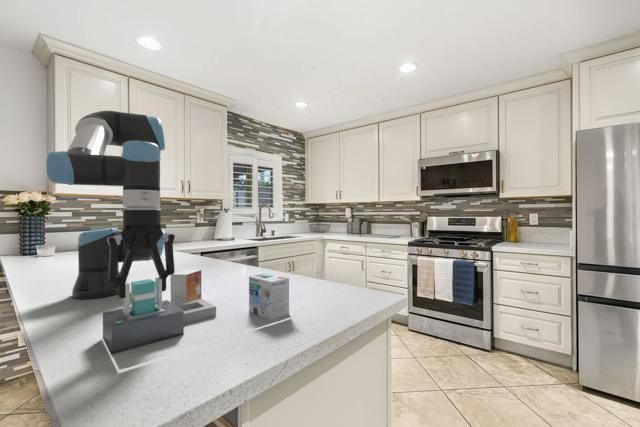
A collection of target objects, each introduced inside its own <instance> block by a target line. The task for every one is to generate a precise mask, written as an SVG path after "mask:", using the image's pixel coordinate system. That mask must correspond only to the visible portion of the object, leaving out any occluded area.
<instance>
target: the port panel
mask: <svg viewBox="0 0 640 427" xmlns="http://www.w3.org/2000/svg"><path fill="white" fill-rule="evenodd" d="M184 329H185V324H184V311H183V310H181V309H180V308H178V307H177V306H175V305H174V304H173V303H171V300H168V299H166V300H162V306H161V307H158V306H157V305H156V304H155V312H151V313H146V314H141V315H137V316H132V309H131V306H130V313H125V311H124V308H120V309H114V310H110V311H104V312H102V339H103V341H104V344H105V346H106V347H107V349H108V351H109V354H110V355H111V357H113V356H114V354H117V353H118V354H119V353H122V352H125V351H128V350H132V349H137V348H139V347H143V346H144V347H145V346H147V345H150V344H156V343H158V342H159V343H160V342H161V341H166V340H169V339H173V338H176V337H180V336H184V334H185V332H184V331H185V330H184Z"/></svg>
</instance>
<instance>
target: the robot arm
mask: <svg viewBox="0 0 640 427" xmlns="http://www.w3.org/2000/svg"><path fill="white" fill-rule="evenodd" d="M74 131H75V136H74V137H73V139H72V141H71V143H70V145H69V147H68V148H67V150H66V151H65V150H64V151H63V150H62V151H51V152H49V153H48V154H47V156H46V168H45V169H46V174H47V177H48V180H49V181H50V182H51V183H53V184H58V185H68V186H73V185H74V186H75V185H77V186H108V187H122V207H123V208H124V209H125V210H123V211H122V222H123V223H122V230H119V228H118V227H117V226H115V227H108V228H100V229H93V230H87V231H82V232H81V233H79V235H78V239H77V240H78V243H77V252H78V253H77V254H78V273H77V277H76V280H75V283H74V285H73V288H72V293H71V294H72V296H71V297H72V298H74V299H78V300H83V299H84V300H88V299H89V300H91V299H99V298H106V297H110V296H115V295H117V296H118V297H119V299H123V309H124V311H125V313H130V307H131V282H128V281H127V280H128V276H129V273H130V270H131V268H132V265H133V263H134V262H143V261H145V262H148V261H153V264H154V266H155V269H156V270H155V271H156V272H157V275H158V276H156V277H154V282H155V304H156V305H157V306H158V307H161V306H162V301H163V292H166V290H167V278H168V277H169V276H171V274H174V273H176V272H175V271H176V270H175V258H174V257H175V256H174V244H173V243H174V241H175V236H176V235H175V234H173V233H167V232H165V230H164V229H162V227H161V225H162V224H161V222H162V220H161V217H162V216H161V214H162V213H161V211H160V210H159V208H160V207H161V151H165V150H166V145H165V144H166V143H165V136H164V135H165V134H164V129H163V123H162V121H161V120H160V118H159V117H156V116H152V115H146V114H138V113H130V112H123V111H115V110H102V111H101V110H99V111H95V112H92V113H90V114H88V115H87V114H86V115H85V116H83V117H81V118H80V119H79V120H78V121H77V123H76V125H75V129H74ZM108 146H113V147H114V146H115V147H122V153H121V155H109V154H108V155H107V154H105V153H106V148H107V147H108ZM163 251H164V257H165V266H164V263H163V261H162V260H163V259H162V254H163ZM119 263H122V265H121V268H119V267H120V266H119ZM119 269H120V270H119Z"/></svg>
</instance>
